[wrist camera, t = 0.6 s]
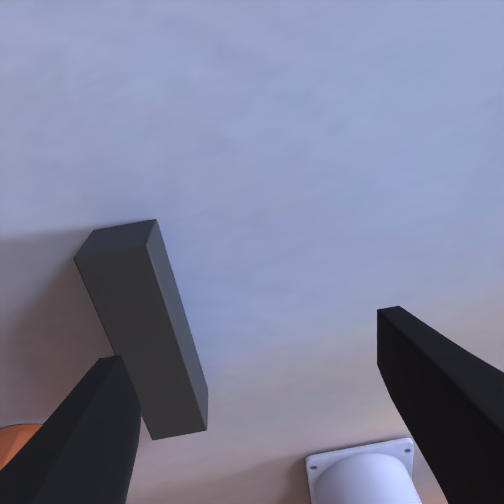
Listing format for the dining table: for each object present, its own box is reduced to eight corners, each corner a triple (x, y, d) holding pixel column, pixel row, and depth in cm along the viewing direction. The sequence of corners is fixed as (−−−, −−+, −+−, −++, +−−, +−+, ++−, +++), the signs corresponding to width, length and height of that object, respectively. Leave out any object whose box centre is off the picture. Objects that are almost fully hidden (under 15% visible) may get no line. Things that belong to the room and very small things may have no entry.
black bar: (208, 390, 24) (207, 431, 22) (159, 399, 24) (152, 441, 22) (156, 218, 19) (147, 244, 16) (92, 229, 19) (72, 258, 16)
